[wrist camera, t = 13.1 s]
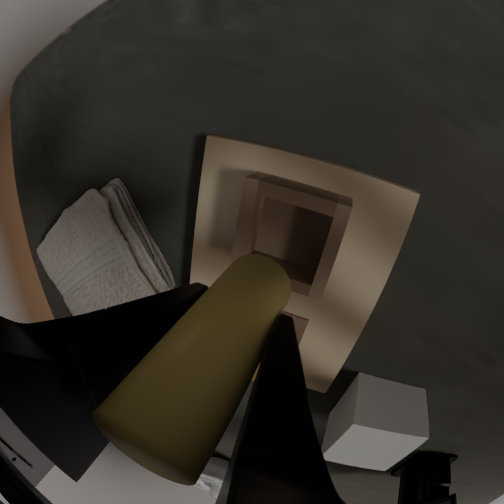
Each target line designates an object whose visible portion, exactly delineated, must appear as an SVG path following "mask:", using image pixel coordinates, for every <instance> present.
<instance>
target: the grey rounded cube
mask: <svg viewBox="0 0 504 504" xmlns="http://www.w3.org/2000/svg"><path fill="white" fill-rule="evenodd" d="M428 438H429V425H428V411H427V399H426V390H425V389H423V388H419V387H415V386H410V385H406V384H402V383H398V382H394V381H390V380H387V379H383V378H379V377H375V376H372V375H368V374H365V373H361V372H359V373H358V375H357V376H356V378H355V379H354V381H353V382H352V384H351V385H350V386H349V388H348V389H347V391H346V392H345V393H344V395H343V396H342V398H341V399H340V400H339V402H338V403H337V404H336V406H335V407H334V408H333V410H332V411H331V412H330V414H329V418H328V422H327V427H326V431H325V435H324V440H323V444H322V448H321V450H322V453H323V456H324V459H325V460H327V461H331V462H336V463H341V464H345V465H350V466H356V467H361V468H367V469H374V470H381V471H386V470H387V469H389V468H390V467H392V466H393V465H394V464H396V463H397V462H399V461H400V460H401V459H403V458H404V457H406V456H407V455H408V454H410V453H411V452H412V451H413V450H415V449H416V448H417V447H419V446H420V445H421V444H422V443H424V442H425V441H426V440H427V439H428Z"/></svg>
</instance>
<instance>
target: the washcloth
mask: <svg viewBox="0 0 504 504" xmlns="http://www.w3.org/2000/svg"><path fill="white" fill-rule="evenodd" d="M37 254H38V255H39V259H40V260H41V262H42V264H43V266H44V268H45V270H46V271H47V274H48V276H49V277H50V279H52V281H53V282H54V284H55V285H56V287H57V289H58V290H59V292H60V293H61V294H62V295H63V297H64V302H65V303H66V305H67V307H68V308H69V310H70V312H71V313H72V314H73V316H76V315H81V314H85V313H89V312H93V311H96V310H100V309H104V308H105V309H106V308H108V307H111V306H115V305H118V304H122V303H126V302H129V301H133V300H136V299H140V298H143V297H147V296H150V295H154V294H157V293H161V292H164V291H168V290H171V289H174V287H175V282H174V280H173V276H172V272H171V271H170V268H169V266H168V265H167V263H166V261H165V259H164V257H163V255H162V254H161V252H160V250H159V248H158V247H157V245H156V243H155V242H154V240H153V238H152V237H151V236H150V234H149V232H148V230H147V228H146V226H145V224H144V222H143V220H142V218H141V216H140V214H139V212H138V210H137V208H136V206H135V204H134V202H133V200H132V198H131V197H130V194H129V193H128V191H127V189H126V187H125V186H124V184H123V183H122V181H121V180H120V179H119V178H115V179H114V180H111V181H109V183H108V184H107V185H106V186H104V187H103V188H101V190H100V191H98V190H96V189H89V190H88V191H86V192H85V194H84V195H83V196H82V197H81V198H80V199H79V200H77V201H76V202H74V204H73V205H71V206H70V207H69V208H67V209H65V210H64V211H63V212H62V215H61V216H60V218H59V219H58V221H57V222H56V223H55V225H54V226H53V227H52V228H51V229H50V230H49V232H48V234H47V235H46V237H45V239H44V240H43V241H42V243H41V244H40V245H39V247H38V248H37Z"/></svg>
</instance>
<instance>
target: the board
mask: <svg viewBox="0 0 504 504" xmlns="http://www.w3.org/2000/svg"><path fill="white" fill-rule="evenodd" d="M419 196H420V194H419V193H418V192H417V191H416V190H414V189H411V188H408V187H406V186H403V185H400V184H398V183H395V182H392V181H390V180H387V179H384V178H381V177H378V176H375V175H372V174H369V173H366V172H363V171H360V170H357V169H354V168H351V167H348V166H344V165H341V164H338V163H334V162H331V161H328V160H324V159H321V158H317V157H313V156H310V155H306V154H302V153H298V152H294V151H290V150H286V149H282V148H278V147H274V146H269V145H265V144H260V143H256V142H251V141H246V140H241V139H236V138H231V137H226V136H220V135H207V139H206V145H205V152H204V159H203V166H202V173H201V181H200V188H199V196H198V205H197V213H196V222H195V232H194V242H193V252H192V263H191V275H190V284H192V283H196V282H199V283H201V284H204V285H207V286H208V287H210V286H211V285H212V284H213V283H214V282H215V281H216V280H217V279H218V278H219V277H220V276H221V274H222V273H223V272H224V271H225V270H226V269H227V268H228V267H229V266H230V265H231V264H232V263H233V262H234V261H235V260H236V259H238V258H239V257H241V256H244V255H248V254H259V255H263V256H266V257H269V258H271V259H273V260H274V261H276V262H277V263H278V264H279V265H281V267H282V268H283V269H284V270H285V272H286V273H287V275H288V277H289V279H290V283H291V295H290V298H289V300H288V303H287V305H286V307H285V309H284V312H283V314H285V315H288V316H291V317H293V319H294V324H295V329H296V334H297V339H298V345H299V350H300V355H301V360H302V365H303V371H304V376H305V382H306V387H307V388H309V389H312V390H316V391H319V392H322V393H326V391H327V390H328V388H329V387H330V385H331V383H332V382H333V380H334V379H335V377H336V375H337V374H338V372H339V370H340V369H341V367H342V365H343V364H344V362H345V360H346V359H347V357H348V355H349V353H350V352H351V350H352V348H353V346H354V345H355V343H356V341H357V339H358V337H359V335H360V334H361V332H362V330H363V328H364V326H365V324H366V322H367V320H368V318H369V316H370V314H371V312H372V310H373V308H374V306H375V304H376V302H377V300H378V298H379V296H380V294H381V292H382V290H383V288H384V285H385V283H386V281H387V279H388V277H389V274H390V272H391V270H392V267H393V265H394V263H395V260H396V258H397V256H398V253H399V251H400V248H401V246H402V243H403V241H404V238H405V236H406V233H407V230H408V228H409V225H410V222H411V220H412V217H413V214H414V211H415V208H416V205H417V202H418V199H419ZM260 362H261V361H260ZM259 365H260V363H259ZM259 365H258V368H259ZM258 368H257V370H256V372H255V374H254V376H253V378H252V380H251V381H254V380H255V377H256V374H257V371H258Z"/></svg>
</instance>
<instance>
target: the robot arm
mask: <svg viewBox="0 0 504 504" xmlns="http://www.w3.org/2000/svg"><path fill="white" fill-rule="evenodd" d="M208 288H209V287H208V286H207V285H204V284H201V283H199V282H196V283H192V284H189V285H185V286H182V287H178V288H175V289H171V290H168V291H164V292H161V293H157V294H154V295H150V296H147V297H143V298H140V299H136V300H133V301H129V302H126V303H122V304H118V305H115V306H111V307H108V308H106V309H105V308H104V309H100V310H96V311H93V312H89V313H85V314H81V315H76V316H71V317H66V318H60V319H54V320H48V321H43V322H37V323H29V324H26V323H25V324H24V323H17V322H14V321H11V320H8V319H6V318H4V317H1V316H0V493H1V494H2V496H3V497H4V498H5V499H6V500H7V501H8V502H9V504H52V503H51V502H50V501H49V500H48V499H47V498H46V497H45V496H43V495H42V494H41V493H40V492H39V491H38V490H37V489H36V488H35V487H36V486H37V484H38V483H39V482H40V481H41V480H42V479H43V478H44V477H45V475H46V474H47V473H48V472H49V471H50V470H51V468H53V467H54V465H56V466H57V467H58V468H60V469H61V470H62V471H63V472H64V473H65V474H67V475H68V476H69V477H70V478H72V479H73V480H74V481H75V482H77V481H78V480H79V479H80V478H81V476H82V475H83V474H84V473H85V472H86V470H87V469H88V468H89V467H90V465H91V464H92V463H93V462H94V461H95V459H96V458H97V457H98V456H99V454H100V453H101V452H102V451H103V449H104V448H105V447H106V446H107V444H108V443H109V442H110V441H109V440H108V439H107V438H106V437H105V436H104V435H103V433H102V432H101V431H100V430H99V429H98V427H97V426H96V424H95V423H94V421H93V418H92V413H93V412H94V411H95V410H96V409H97V408H98V407H99V406H100V405H101V403H102V402H103V401H104V400H105V399H106V398H107V397H108V396H109V395H110V394H111V393H112V391H113V390H114V389H115V388H116V387H117V386H118V385H119V384H120V383H121V382H122V381H123V380H124V378H125V377H126V376H127V375H128V374H129V373H130V372H131V371H132V370H133V369H134V368H135V367H136V365H137V364H138V363H139V362H140V361H141V360H142V359H143V358H144V357H145V356H146V355H147V354H148V353H149V351H150V350H151V349H152V348H153V347H154V346H155V345H156V344H157V343H158V342H159V341H160V340H161V339H162V337H163V336H164V335H165V334H166V333H167V332H168V331H169V330H170V329H171V328H172V327H173V326H174V325H175V324H176V322H177V321H178V320H179V319H180V318H181V317H182V316H183V315H184V314H185V313H186V312H187V311H188V310H189V309H190V307H191V306H192V305H193V304H194V303H195V302H196V301H197V300H198V299H199V298H200V297H201V296H202V295H203V294H204V293H205V291H206V290H207V289H208ZM455 460H457V455H445V454H431V453H418V454H417V455H415V456H414V457H413V458H411V459H410V460H408V461H407V462H406V463H404V464H403V465H401V466H400V467H398V468H397V469H395V470H394V471H392V472H391V476H395V477H400V487H399V496H398V504H457V500H456V493H455V494H451V495H450V496H449V486H450V485H451V467H450V464H451V463H453V462H454V461H455ZM0 504H4V503H3V502H1V501H0ZM215 504H346V503H345V502H344V501H343V500H342V499H341V497H340V496H339V494H338V493H337V491H336V489H335V487H334V485H333V482H332V480H331V477H330V474H329V471H328V468H327V465H326V462H325V459H324V456H323V453H322V450H321V447H320V444H319V440H318V437H317V434H316V430H315V427H314V423H313V418H312V414H311V409H310V403H309V399H308V393H307V387H306V382H305V376H304V371H303V365H302V360H301V355H300V350H299V345H298V339H297V334H296V329H295V324H294V319H293V317H291V316H288V315H285V314H280V315H279V317H278V319H277V321H276V323H275V325H274V326H273V328H272V330H271V332H270V334H269V337H268V340H267V343H266V346H265V349H264V352H263V356H262V359H261V362H260V365H259V368H258V371H257V374H256V377H255V380H254V383H253V387H252V390H251V394H250V397H249V400H248V404H247V407H246V410H245V414H244V417H243V420H242V424H241V427H240V430H239V433H238V436H237V440H236V443H235V446H234V449H233V452H232V455H231V459H230V462H229V465H228V468H227V471H226V474H225V477H224V480H223V483H222V486H221V489H220V492H219V495H218V497H217V500H216V503H215Z"/></svg>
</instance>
